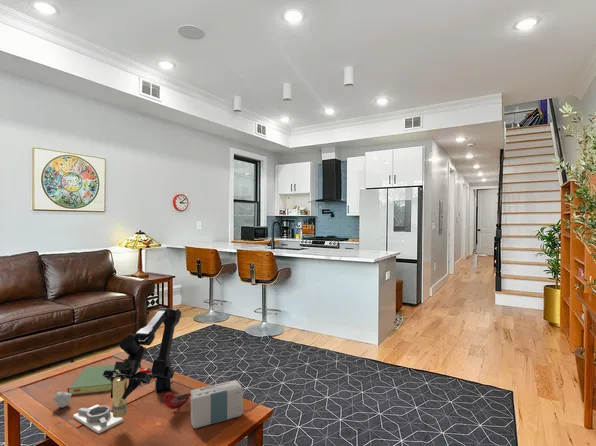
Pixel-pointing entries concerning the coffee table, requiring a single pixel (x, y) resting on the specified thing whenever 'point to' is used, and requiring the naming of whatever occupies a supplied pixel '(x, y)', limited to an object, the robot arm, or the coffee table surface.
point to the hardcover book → (91, 380)
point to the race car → (147, 370)
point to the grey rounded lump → (62, 399)
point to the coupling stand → (97, 418)
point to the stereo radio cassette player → (216, 403)
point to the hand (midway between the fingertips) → (117, 398)
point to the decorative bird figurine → (175, 400)
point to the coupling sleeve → (119, 397)
